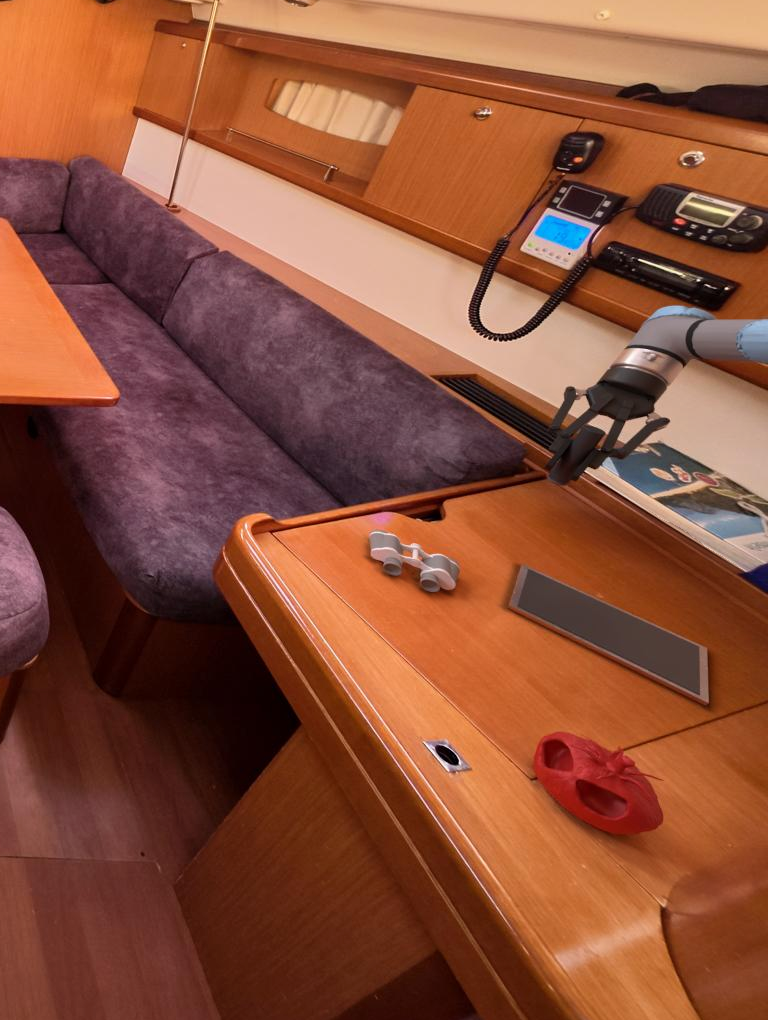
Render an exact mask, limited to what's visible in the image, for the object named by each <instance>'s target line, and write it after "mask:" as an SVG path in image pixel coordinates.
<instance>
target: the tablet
mask: <svg viewBox="0 0 768 1020" xmlns="http://www.w3.org/2000/svg"><path fill="white" fill-rule="evenodd" d="M516 575H517V576H516V580H515V582H514V586H513V588H512V592H511V595H510V598H509V601H508V604H507V609H509V610H511V611H512V612H515V613H517V614H519V615H521V616H523V617H525V618H526V619H528V620H530V621H533V622H535V623H538V624H539V625H541V626H543V627H545V628H547V629H549V630H551V631H554V632H555V633H556V634H557V633H558V634H559V635H561V636H563V637H565V638H568V639H570V640H572V641H573V642H576V643H578V644H580V645H582V646H583V647H586V648H588V649H590V650H591V651H593V652H596V653H598V654H600V655H602V656H604V657H606V658H608V659H609V660H612V661H614V662H616V663H617V664H620V665H622V666H623V667H626V668H628V669H630V670H632V671H633V672H636V673H638V674H640V675H642V676H644V677H646V678H648V679H650V680H652V681H654V682H656V683H658V684H660V685H663V686H664V687H667V688H668V689H671V690H673V691H675V692H676V693H678V694H680V695H682V696H685V697H687V698H688V699H691V700H693V701H695V702H697V703H699V704H701V705H703V706H705V707H707V706H708V705H709V704H710V697H709V696H710V695H709V666H708V665H709V663H708V662H709V661H708V659H709V658H708V647H706V646H704V645H701V644H699V643H697V642H695V641H694V640H693V641H692V640H690V639H689V638H686V637H684V636H682V635H679V634H677V633H676V632H673V631H671V630H668V629H666V628H664V627H662V626H660V625H658V624H656V623H653V622H652V621H649V620H647V619H644V618H643V617H640V616H637V615H635V614H633V613H631V612H629V611H627V610H624V609H623V608H620V607H619V606H615V605H613V604H612V603H609V602H607V601H605V600H603V599H600V598H598V597H596V596H595V595H594V596H593V595H591V594H589V593H587V592H585V591H583V590H581V589H578V588H576V587H574V586H572V585H570V584H567V583H565V582H563V581H561V580H558V579H556V578H554V577H552V576H550V575H548V574H545V573H543V572H541V571H539V570H536V569H534V568H532V567H530V566H528V565H526V564H523V563H522V564H520V566H519V569H518V573H517V574H516Z"/></svg>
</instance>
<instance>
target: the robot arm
mask: <svg viewBox="0 0 768 1020" xmlns="http://www.w3.org/2000/svg"><path fill="white" fill-rule="evenodd" d="M691 360H705V361H723V362H724V361H725V362H739V363H755V364H763V365H768V318H767V319H766V318H764V319H718V318H716V316H714V314H711V313H710V312H708V311H706V310H703V309H701V308H697V307H687V306H685V305H668V306H664V307H661V308H659V309H656V311H655V312H654V313H653V314H651V315H650V316H649V317H648V318H647V320H645V321H644V322H643V323H642V324H641V325H640V328H639V329H638V330H637V332H636V333H635V335H634V336H633V338H632V339H631V340H630V341H629V343H628V344H627V346H626V347H625V348H624V349H623V350H622V351H621V352H620V353H619V354H618V356H617V357H616V358H615V360H614V361H613V362H612V363H611V365H610V366H609V368H608V369H607V370H606V371H605V372H604V373H603V375H602V376H601V377H600V378H599V380H598V381H597V382H596V383H595V384H594V385H593V386H590V387H588V388H586V389H585V388H575V386H572V385H571V386H569V385H568V386H566V387H565V389H564V392H563V399H564V400H563V401H562V403H561V405H560V406H559V409H558V411H557V412H556V414H555V415H554V417H553V419H552V420H551V423H550V424H549V426H548V428H547V432H548V433H549V434H552V435H553V436H555V439H554V441H553V442H552V443H551V444H550V445H549V447H548V452H549V453H552V454H553V455H552V456H551V458H550V459H549V460H548V462H547V463H546V464H545V467H544V470H546V471H549V472H551V470H552V469H553V468H554V466H555V465H556V463H557V462H558V461H559V459H560V458H561V457H562V455H563V454H564V452H565V451H566V450H567V448H568V447H569V445H570V444H571V443H572V441H573V440H574V439H572V437H573V436H575V435H577V434H578V433H579V431H580V430H581V428H582V427H583V426H584V425H588V424H589V423H591V421H593V420H594V419H595V418H596V417H599V416H603V417H606V418H608V419H611V420H613V423H612V424H611V427H610V428H609V431H608V432H607V435H606V436H605V439H604V441H603V443H602V445H601V447H600V449H598V448H597V447H595V448H594V449H593V450H592V452H591V453H590V454H589V455H588V457H587V458H586V459H585V460H584V462H583V463H582V464H581V465H580V467H579V468H578V469H577V470H576V472H575V473H574V474H573V476H572V477H571V479H570V480H571V481H573V482H575V483H576V482H577V481H578V480H579V479H580V478H581V477H582V475H583V474H584V473H585V471H586V470H587V469H588V468H589V469H592V470H594V471H596V470H598V469H599V468H600V467H601V466H602V465H603V464H604V462H605V461H606V460H607V459H608V458H615V459H617V460H622V461H623V460H625V459H626V458H628V457H629V456H630V455H631V454H632V453H634V451H635V450H636V449H637V448H639V446H641V444H643V443H644V442H645V441H646V440H648V438H649V437H650V436H651V435H652V434H653V433H656V432H658V431H661V430H663V429H665V428H667V427H668V425H669V424H670V423H671V419H670V418H668V417H665V416H664V417H662V416H661V415H659V414H658V413H656V412H655V411H656V408H655V405H656V404H657V402H658V401H659V400H660V398H661V397H662V396H663V395H664V393H665V392H666V391H667V389H668V387H669V386H671V385H672V384H673V382H674V381H675V380H676V379H677V378H678V376H679V375H680V373H681V372H682V371H683V370H684V368H685V367H687V365H688V364H689V363H690V362H691ZM582 397H585V398H586V401H587V403H588V406H589V407H588V408H587V410H586V411H584V412H583V413H582V414H580V415H579V416H578V417H577V418H576V419H575V420H574V421H572V423H570V424H569V425H568V426H566V427H565V428H564V429H563V428H561V426H562V424H563V423H564V420H566V417H567V416H568V414H569V413H570V410H571V409H572V407H573V405H574V403H575V401H579V400H581V398H582ZM645 417H646V419H645V421H644V422H645V425H644V426H643V427H642V428H641V429H639V431H637V432H636V433H635V435H633V436H632V437H631V438H630V439H629V440H627V442H626V443H624V445H622V447H620V448H614V447H615V445H616V444H617V441H618V439H619V437H620V434H621V433H622V431H623V430H624V429H623V428H624V427H625V425H626V424H627V423H626V422H629V421H633V420H636V419H641V418H645Z"/></svg>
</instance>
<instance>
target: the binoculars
mask: <svg viewBox="0 0 768 1020" xmlns="http://www.w3.org/2000/svg"><path fill="white" fill-rule="evenodd" d="M368 539H369V546H370V556H371V557H372V559H374V560H376V561H381V562H383V565H382V570H383V571H384V572H385V573H386V574H388V575H391V576H397V577H398V576H400V575H401V574H402V573H403V567H402V566H403V563H406V564H409V565H411V566H412V567H415V568H418V569H419V570H420V574H419V576H420V580H419V585H420V588H422V589H423V590H425V591H426V592H429V593H431V592H432V593H436V592H439V591H440V590H441V589H443V590H446V591H452V590H453V589H455V588H456V586H457V585H456V584H457V581H458V578H459V575H460V572H461V568H460V567H461V566H460V564H459V562H458V561H457V560H455V559H453V558H452V557H448V556H446V555H445V554H443V553H433V554H428V553H427V552H425V551H424V550H423V547H422V546H421V544H419V543H414V542H413V543H410V545H409V544H408V545H407V544H404V543H402V542H401V540H400V537H398V535H396V534H393V533H389V532H387V531H385V530H383V529H374V530H371V531H370V532H369V536H368ZM404 551H405V552H408V553H410V554H412V556H405V555H404V554H403V553H404ZM419 558H421V559H419Z"/></svg>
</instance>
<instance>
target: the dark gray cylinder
mask: <svg viewBox="0 0 768 1020" xmlns="http://www.w3.org/2000/svg"><path fill="white" fill-rule="evenodd" d="M605 435H606V431H604V430H603V429H601V428H599V427H597V426H593V425H589V424H586V425H584V426H583V427H582V428H581V429H580V430H579V431H578V432H577V433H576V434H575V437H574V438H573V439H572V440H573V441H572V443H571V444H570V445H569V447H568V448H567V450H566V451H565V452H564V454H563V455H562V457H561V458H560V459H559V460H558V461H557V463H556V464H555V465H554V466H553V468H552V469H551V470H550V471H549V473H548V474H547V475H548V476H547V477H546V479H547V480H548V481H549V482H551V483H553V484H555V485H557V486H562V487H566V486H568V484H569V483H571V481H572V480H570V479H571V477H572V476H573V474H574V473H575V472H576V470H577V469H578V468H579V467H580V465H581V464H582V463H583V462H584V460H585V459H586V458H587V457H588V455H589V454H590V453H591V452H592V450H593V449H594V448H597V446H598V445H599V443H600V442H601V441H602V439H603V438H604V436H605Z"/></svg>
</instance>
